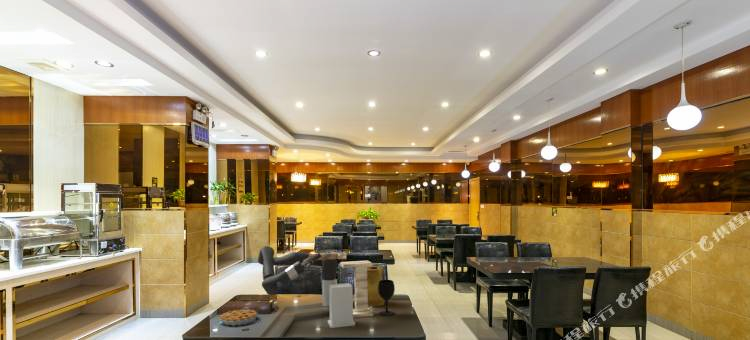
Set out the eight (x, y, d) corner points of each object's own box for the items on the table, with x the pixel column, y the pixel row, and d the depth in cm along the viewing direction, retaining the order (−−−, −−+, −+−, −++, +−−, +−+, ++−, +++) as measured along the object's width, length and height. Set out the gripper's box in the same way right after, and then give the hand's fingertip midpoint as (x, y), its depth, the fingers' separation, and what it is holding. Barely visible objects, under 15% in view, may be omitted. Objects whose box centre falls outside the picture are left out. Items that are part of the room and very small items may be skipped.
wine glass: (398, 313, 258) (397, 280, 259) (387, 317, 250) (386, 283, 251) (386, 310, 265) (385, 278, 266) (375, 314, 257) (374, 281, 258)
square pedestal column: (340, 313, 260) (339, 261, 262) (368, 310, 265) (367, 260, 267) (344, 318, 249) (343, 265, 250) (373, 315, 254) (372, 263, 255)
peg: (309, 260, 244) (309, 255, 244) (308, 259, 250) (308, 254, 250) (346, 258, 250) (346, 253, 250) (344, 257, 256) (344, 252, 256)
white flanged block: (327, 322, 242) (327, 284, 243) (351, 320, 246) (350, 282, 247) (331, 328, 232) (330, 288, 233) (355, 325, 236) (354, 286, 237)
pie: (246, 313, 265) (246, 305, 265) (264, 320, 249) (264, 312, 249) (213, 321, 249) (213, 313, 250) (229, 329, 234) (229, 320, 234)
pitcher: (388, 306, 272) (385, 267, 274) (360, 308, 272) (357, 269, 274) (388, 300, 289) (385, 264, 291) (361, 302, 289) (359, 266, 291)
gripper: (292, 267, 237) (318, 250, 242) (290, 263, 251) (315, 247, 255) (299, 278, 238) (325, 261, 242) (297, 273, 251) (321, 257, 256)
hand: (320, 254), depth 249 cm, fingers closed on peg, 3 cm apart
